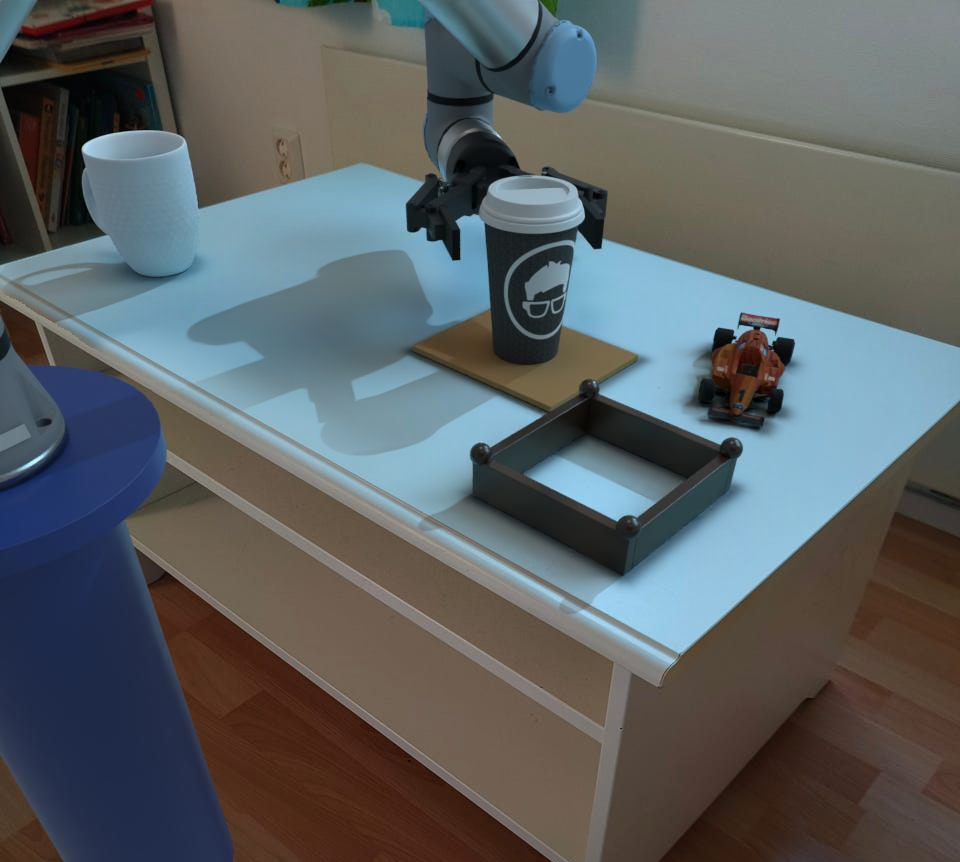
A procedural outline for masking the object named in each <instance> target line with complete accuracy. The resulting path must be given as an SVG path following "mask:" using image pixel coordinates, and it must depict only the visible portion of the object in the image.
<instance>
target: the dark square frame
mask: <svg viewBox="0 0 960 862" xmlns="http://www.w3.org/2000/svg"><path fill="white" fill-rule="evenodd" d="M599 384H600V383H599ZM599 384H598V383H597V381H595V380H593V379H586V380H584V381H583V382H582V383H581V384H580V386H579V395H577V396H575V397H574V398H572V399H570V400H569V401H567V402H565V403H564V404H562V405H560V406H559V407H557V408H555V409H554V410H552V411H550V412H547V413H545V414H543V415H542V416H540V417H539V418H537V419H535V420H533V421H532V422H530V423H529V424H527V425H526V426H524V427H522V428H520V429H519V430H516V431H514V432H513V433H512V434H510V435H509V436H507V437H505V438H504V439H502V440H500V441H499V442H497V443H495V444H494V445H492V446H490V445H489V444H488V443H485V442H477V443H474V444H473V445H472V446H471V448H470V450H469V459H470V461H471V462H472V482H471V483H472V484H471V485H472V491H471V492H472V494H471V495H472V496H473V497H476V498H477V499H479V500H481V501H483V502H485V503H487V504H489V505H491V506H492V507H495V508H496V509H498V510H500V511H502V512H504V513H506V514H508V515H509V516H512V517H513V518H515V519H518V521H521V522H523V523H524V524H527V525H528V526H530V527H531V528H534V529H535V530H538V531H540V532H542V533H543V534H545V535H547V536H549V537H551V538H552V539H555V540H557V541H558V542H560V543H562V544H564V545H566V546H568V547H570V548H572V549H573V550H575V551H576V552H579V553H581V554H584V555H585V556H587V557H589V558H590V559H592V560H594V561H596V562H598V563H600V564H602V565H604V566H605V567H608V568H609V569H612V570H613V571H615V572H617V573H619V574H621V575H622V576H625V575H627V573H628V572H630V571H631V570H632V569H633V568H635V567H636V566H637V565H638V564H640V563H641V562H642V561H644V559H646V558H648V556H650V555H651V554H652V553H653V552H654V551H656V550H657V549H659V547H660V546H661V545H663V544H664V543H666V542H667V541H668V540H669V539H671V537H673V536H674V535H675V534H677V533H678V532H679V531H680V530H682V529H683V528H684V527H685V526H686V525H688V524H690V522H691V521H693V520H694V519H695V518H697V516H699V515H700V514H701V513H703V511H705V510H706V509H707V508H708V507H710V506H711V505H712V504H713V503H715V502H716V501H717V500H718V499H719V498H721V497H723V496H724V494H725V493H727V492H728V491H729V490H730V489H731V487H732V481H733V479H734V478H733V477H734V474H735V470H736V465H737V461H738V459H739V458H740V457H741V456H742V454H743V452H744V445H743V442H742V441H741V440H740V439H739V438H737V437H733V436H731V437H726V438H725V439H724V440H722V441H721V443H720V444H719V443H717V442H715V441H713V440H711V439H708V438H706V437H703V436H701V435H698V434H695V433H694V432H691V431H689V430H686V429H684V428H682V427H679V426H677V425H674V424H672V423H670V422H667V421H664V420H662V419H660V418H657V417H655V416H653V415H650V414H648V413H646V412H643V411H641V410H639V409H636V408H633V407H631V406H629V405H627V404H624V403H622V402H619V401H617V400H616V399H612V398H610V397H608V396H606V395H604V394H601V393H600V391H601V387H600V385H599ZM586 433H588V434H589V435H592V436H594V437H597V438H599V439H601V440H603V441H605V442H607V443H610V444H612V445H615V446H617V447H619V448H621V449H624V450H626V451H628V452H630V453H632V454H635V455H637V456H639V457H641V458H643V459H646V460H648V461H650V462H652V463H654V464H657V465H658V466H661V467H663V468H666V469H668V470H670V471H672V472H674V473H677V474H679V475H681V476H684V477H686V478H687V479H686V480H684V481H683V482H682V483H680V484H679V485H678V486H676V487H675V488H674V489H672V490H670V492H668V493H667V494H666V495H664V496H663V497H662V498H660V499H659V500H658V501H656V502H655V503H654V504H653V505H651V506H650V507H648V508H647V509H646V510H645V511H643V512H642V513H640V514H639V515H638V516H636V515H632V514H626V515H623V516H621V517H620V518H619V519H618V520H615V519H614V518H612V517H609V516H608V515H606V514H604V513H602V512H600V511H597V510H596V509H594V508H592V507H589V506H587V505H586V504H583V503H581V502H580V501H577V500H575V499H573V498H571V497H569V496H567V495H566V494H563V493H561V492H560V491H557V490H555V489H553V488H551V487H550V486H547V485H545V484H544V483H541V482H539V481H537V480H535V479H533V478H531V477H529V476H527V475H525V474H523V473H525V472H526V471H528V470H530V469H532V468H533V467H535V466H536V465H538V464H539V463H541V462H542V461H544V460H546V459H547V458H549V457H550V456H552V455H553V454H555V453H556V452H558V451H560V450H561V449H563V448H564V447H566V446H567V445H569V444H570V443H572V442H574V441H575V440H576V439H578V438H580V437H581V436H583V435H585V434H586Z"/></svg>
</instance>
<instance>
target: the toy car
mask: <svg viewBox="0 0 960 862" xmlns="http://www.w3.org/2000/svg"><path fill="white" fill-rule="evenodd" d="M780 322H781V318H779V317H769V316H763V315H756V314H751V313H746V312H740V314H739V318H738V323H737V326H736V328H737V329H736V330H739V328H740V326H743V327H750V328H752V329H749V330H746V331H745V332H743V333H742V334H741V335H740V336H739V337H738V338H737V336H736V335H735V329H732V328H725V327H720V326H719V327H717V328H716V330H715V331H714V335H713V338H712V342H713V343H712V347H711V358H710V361H711V365H712V370H711V374H710V378H701V380H700V382H699V386H698V392H697V397H698V400H699V402H701V403H702V402H703V403H711V402H712V401H713V400H714V398H715V393H716V392H720V393H725V397H724V399H719V401H720V402H721V403H723V404H724V405H725V406H728V407H730V409H729V408H723V407H719V406H714V405H709V407H708V411H707V415H709V416H713V417H717V418H720V419H725V420H730V421H735V422H739V423H745V424H749V425H751V426H757V427H761V428H763V426H764V422H765V419H766V418H765V417H764V416H759V415H753V414H750V413H745V412H744V411H745V410H746V409H754V408H757V406H756V404H754V399H758V400H760V401H764V402H766V401H767V406H766V409H767V411H768V413H779V412H780V411H781V410H782V407H783V402H784V396H785V393H784V390H783V389H782V388H778V385H779V382H780V378H781V377H782V376H783V374H784V373H785V368H786V367H785V366H788V365H789V364H790V363H791V361H792V357H793V353H794V350H795V347H796V340H795V339H794V338H790V337H783V336H778V337H776V336H777V333H778V331H779V326H780ZM761 329H765V330H770V331H773V332H774V336H775V337H776V340H772V343H771V344H770V343H769V340H768V336H767V334H766V333H765V332H764V331H762V330H761ZM733 341H734V342H733ZM767 398H768V400H767Z"/></svg>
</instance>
